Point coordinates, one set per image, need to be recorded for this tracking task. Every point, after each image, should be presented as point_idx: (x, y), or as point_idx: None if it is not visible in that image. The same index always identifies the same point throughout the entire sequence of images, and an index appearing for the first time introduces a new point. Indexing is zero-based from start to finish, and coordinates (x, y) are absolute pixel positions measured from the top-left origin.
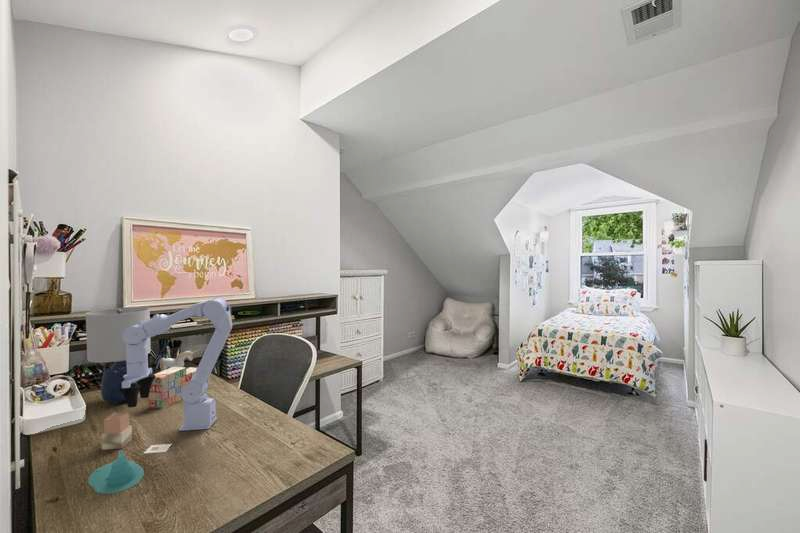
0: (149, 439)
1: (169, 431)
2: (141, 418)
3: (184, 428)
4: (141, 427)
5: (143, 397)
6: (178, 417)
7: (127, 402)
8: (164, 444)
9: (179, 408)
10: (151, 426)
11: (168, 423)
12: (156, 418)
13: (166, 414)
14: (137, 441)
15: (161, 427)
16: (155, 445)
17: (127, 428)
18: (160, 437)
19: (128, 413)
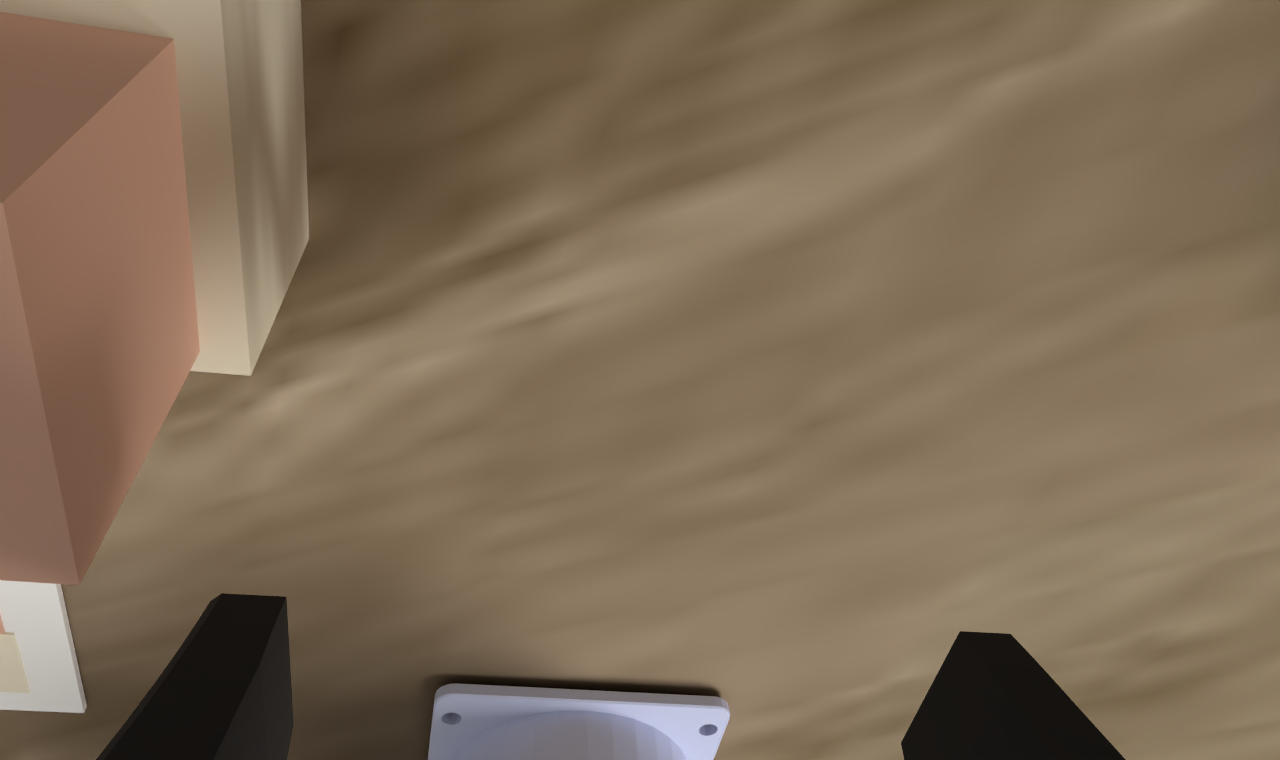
0: (258, 462)
1: (468, 596)
2: (1202, 92)
3: (453, 734)
4: (754, 226)
5: (941, 691)
6: (907, 575)
7: (119, 749)
8: (66, 656)
9: (1259, 510)
10: (731, 356)
11: (747, 524)
12: (1040, 331)
13: (1126, 417)
14: None
15: (637, 485)
16: (43, 584)
17: None
18: (302, 557)
19: (50, 571)
